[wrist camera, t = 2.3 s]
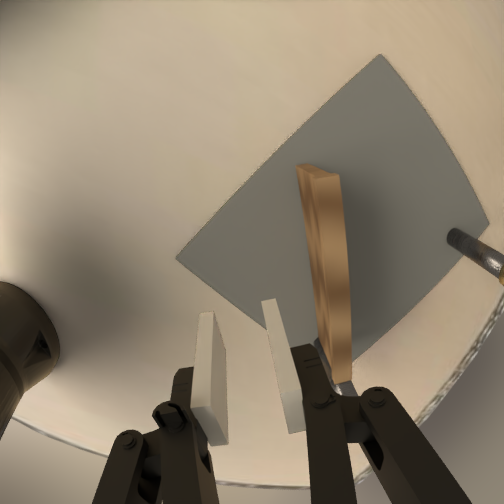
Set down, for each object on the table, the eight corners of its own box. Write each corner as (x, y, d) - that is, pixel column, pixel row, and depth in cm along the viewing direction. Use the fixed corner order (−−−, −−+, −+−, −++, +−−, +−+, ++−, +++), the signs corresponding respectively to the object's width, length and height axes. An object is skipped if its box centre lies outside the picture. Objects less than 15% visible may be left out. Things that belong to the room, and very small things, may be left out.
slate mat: (331, 374, 41) (332, 377, 40) (176, 256, 33) (175, 258, 32) (486, 222, 34) (489, 223, 34) (378, 54, 26) (380, 53, 26)
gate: (330, 334, 36) (351, 379, 29) (316, 338, 36) (334, 384, 29) (310, 162, 29) (339, 174, 22) (292, 166, 29) (314, 179, 22)
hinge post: (320, 350, 39) (345, 414, 29) (308, 341, 38) (332, 406, 28) (334, 338, 38) (363, 400, 28) (323, 329, 38) (351, 392, 27)
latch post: (447, 251, 35) (508, 294, 24) (438, 235, 34) (502, 277, 23) (462, 234, 35) (524, 273, 23) (453, 219, 34) (519, 255, 22)
